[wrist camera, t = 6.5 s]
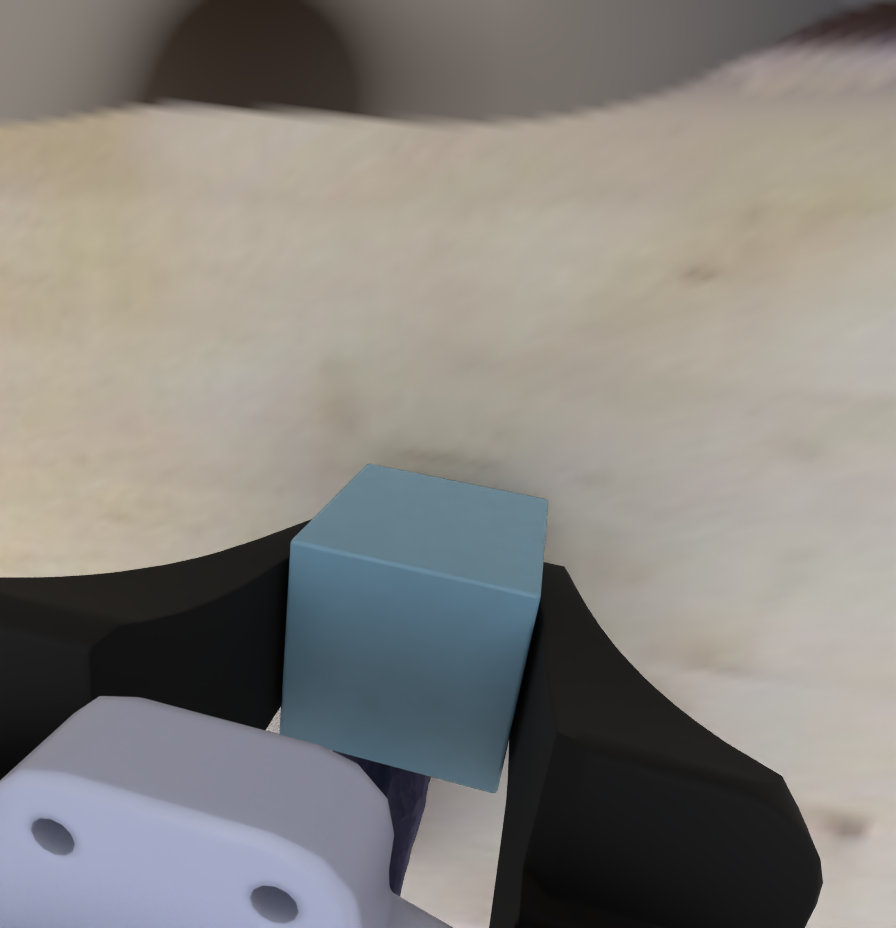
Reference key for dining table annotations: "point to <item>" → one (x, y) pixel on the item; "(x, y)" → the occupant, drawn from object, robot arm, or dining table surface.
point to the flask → (398, 810)
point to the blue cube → (413, 623)
